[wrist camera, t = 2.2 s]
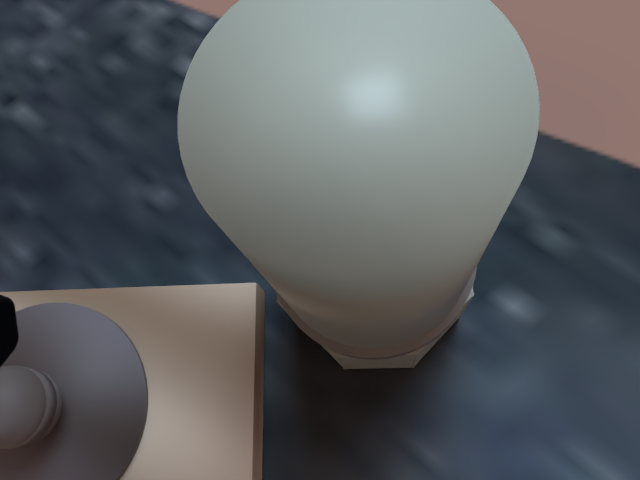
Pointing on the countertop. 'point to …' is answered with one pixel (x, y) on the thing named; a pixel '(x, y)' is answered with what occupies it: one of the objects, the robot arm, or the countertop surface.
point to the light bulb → (361, 158)
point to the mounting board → (135, 384)
